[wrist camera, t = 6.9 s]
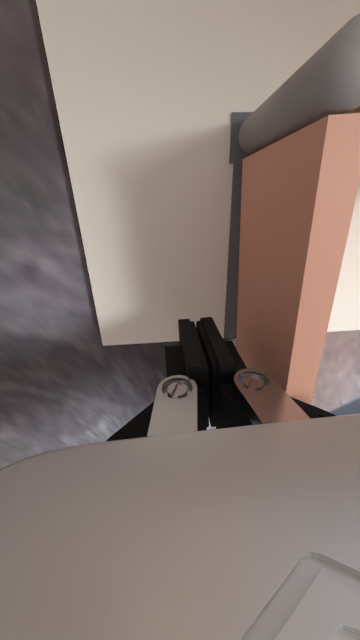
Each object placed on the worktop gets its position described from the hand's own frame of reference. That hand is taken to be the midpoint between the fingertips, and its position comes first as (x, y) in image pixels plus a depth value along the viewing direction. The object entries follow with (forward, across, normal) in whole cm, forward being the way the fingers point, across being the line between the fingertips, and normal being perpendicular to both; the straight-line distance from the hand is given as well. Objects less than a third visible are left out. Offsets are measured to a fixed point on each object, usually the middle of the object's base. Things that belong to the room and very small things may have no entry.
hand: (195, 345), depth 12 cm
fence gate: (+2, -3, -3) cm, 5 cm away
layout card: (+3, -5, -7) cm, 9 cm away
